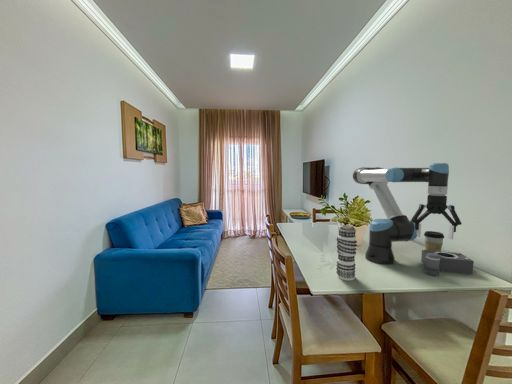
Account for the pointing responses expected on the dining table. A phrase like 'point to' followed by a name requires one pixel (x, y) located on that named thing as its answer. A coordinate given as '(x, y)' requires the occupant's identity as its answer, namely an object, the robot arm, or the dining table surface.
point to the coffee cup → (433, 240)
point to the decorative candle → (346, 253)
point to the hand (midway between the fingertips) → (434, 237)
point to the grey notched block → (451, 262)
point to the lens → (432, 264)
